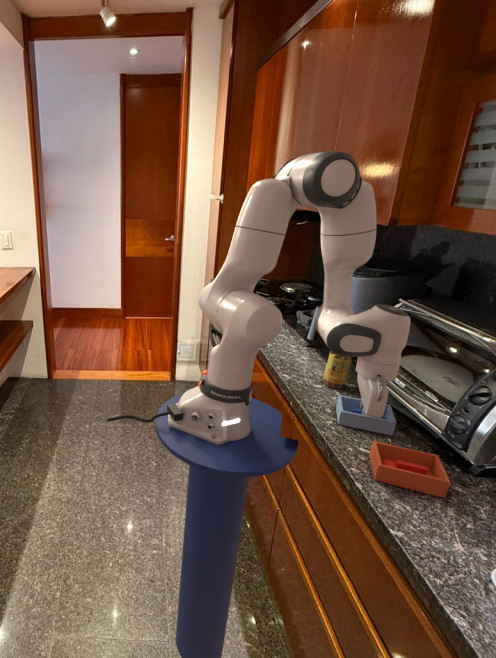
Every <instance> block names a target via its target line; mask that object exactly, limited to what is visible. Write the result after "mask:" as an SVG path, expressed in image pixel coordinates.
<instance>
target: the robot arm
mask: <svg viewBox="0 0 496 658" xmlns="http://www.w3.org/2000/svg"><path fill="white" fill-rule="evenodd" d="M300 207H303V208H316V209H317V211H318V213H319V216H320V249H321V257H322V263H323V271H324V274H323V293H322V304H321V306H320V308H319V310H318V312H317V314H316V317H315V320H314V327H315V331H316V332H317V334H318V335H319V337H321V339H322V340H323V342H324V344H325V345H326V347H327V348H328V350H330V352H331V351H332V352H333V353H334V354H336V355H338V356H342V357H353V358H357V362H356V366H355V372H356V374H357V377H356V379H357V385H358V389H359V394H360V399H361V406H360V409H362V412H361V414H362V415H366V416H370V417H375V418H382V417H383V415H384V411H385V407H386V404H388V397H389V389H388V386H387V385H388V384H389V382H393V381H395V380H396V379H397V376H398V373H399V370H400V367H401V363H402V352H403V350H404V349H405V348H406V346H407V342H408V338H409V334H410V329H411V317H410V315H409V314H408V313H407V312H405V311H404V310H402V309H401V308H398V307H396V306H393V305H390V304H389V305H388V304H375V305H374V306H373V307H372V308H370V309H369V308H368V309H367V310H364V311H362V312H359V313H356V314H355V313H354V310H353V309H352V306H351V295H352V293H351V292H352V282H353V276H354V273H355V271H356V270H357V269H358V268H360V267H362V266H364V265H365V264H366V263H368V262H369V261H370V259H371V258H372V257H373V253H374V249H375V245H376V240H377V226H378V225H377V223H378V221H377V219H378V218H377V203H376V197H375V191H374V187H373V186H372V185H371V183H370V182H368V181H366V180H363V179H362V176H361V171H360V168H359V165H358V163H357V161H356V160H355V157H353V156H352V155H351V154H349V153H347V152H344V151H339V150H328V151H324V152H310V153H306V154H304V155H301V156H297V157H294V158H291V159H289V160H287V161H286V162H285V163H283V164H282V165H281V166H280V167H279V168H278V170H277V171H276V172H275V174H274V175H273V176H272V177H271V178H264V179H261V180H258V181H256V182H254V183H253V184H252V186H250V188H249V190H248V192H247V195H246V197H245V199H244V201H243V203H242V206H241V209H240V212H239V214H238V217H237V221H236V224H235V227H234V230H233V231H234V232H233V235H232V239H231V242H230V246H229V249H228V252H227V255H226V258H225V261H224V263H223V264H222V267H221V268H220V270H219V272H218V274H217V275H216V277H215V278H214V280H213V281H211V282H210V283H209V284H207V285H206V286H204V288H203V289H202V290H201V292H200V294H199V298H198V306H199V309H200V310H201V311H202V314H204V315H205V317H206V318H207V319H208V320H210V322H212V323H214V324H215V325H217V326H218V327H219V328H221V330H222V338H221V339H220V342H219V344H217V345H215V346H213V347H212V348H211V349H210V352H209V357H208V369H204V370H202V372H201V373H200V378H199V383H198V385H197V386H195V387H192V388H190V389H188V390H186V391H185V392H184V393H182V394H183V395H182V397H181V398H180V400H179V402H178V403H176V404H175V403H174V404H168V405H167V412H164V413H160V414H157V413H156V414H155V415H153V416H152V417H151V418H142V417H139V416H136V415H132V414H131V415H130V414H128V415H126V414H125V415H119V416H113V417H108V418H106V423H107V422H108V423H109V422H113V421H118V420H122V419H124V420H125V419H131V420H135V421H139V422H142V423H152V422H155V421H156V418H158V417H161V416H165V415H168V423H169V425H170V426H171V427H173V428H176V429H179V430H181V431H184V432H186V433H189V434H191V435H194V436H197V437H199V438H202V439H204V440H207V441H209V442H212V443H215V444H218V445H220V444H224V443H226V442H228V441H235V440H240V439H243V438H245V437H247V436H248V435H249V434H250V432H251V426H250V420H249V403H250V401H251V398H252V395H253V382H252V379H253V372H254V371H253V370H254V365H255V361H256V357H257V355H258V353H259V351H260V349H261V348H262V347H263V345H266V344H268V343H270V342H272V341H273V340H274V339H275V338H276V337H277V336H278V335H279V333H280V331H281V329H282V325H283V314H282V312H281V310H280V309H279V308H278V307H277V306H276V305H275V304H274V303H272V302H271V301H270V300H269V299H267V298H266V297H264V296H262V295H260V294H256V293H255V292H254V291H255V287H256V286H257V284H258V283H259V281H260V280H261V278H263V277H264V276H265V275H267V274H270V273H271V272H272V271H273V270H274V269H275V268H276V266H277V263H278V259H279V258H280V257H279V256H280V253H281V249H282V247H283V243H284V240H285V237H286V233H287V230H288V227H289V222H290V220H291V218H292V216H293V214H294V213H295V212H296V211H297V209H298V208H300Z"/></svg>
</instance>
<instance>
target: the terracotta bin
mask: <svg viewBox="0 0 496 658" xmlns="http://www.w3.org/2000/svg"><path fill="white" fill-rule="evenodd" d="M368 456H369V460H370V464H371V465H370V466H371V470H372V475H373V479H374V481H376V482H382V483H385V484H389V485H393V486H397V487H401V488H405V489H408V490H413V491H416V492H420V493H423V494H427V495H433V496H435V497H439V498H443V499H445V498H446V495H447V493H448V490H449V489H450V486H451V480H450V478H449V476H448V474H447V472H446V469H445V467H444V466H443V462H442V461H441V458H440V457H439V454H435V453H430V452H425V451H421V450H416V449H412V448H407V447H402V446H398V445H394V444H389V443H384V442H380V441H375V440H373V441H372V444H371V447H370V451H369V455H368ZM383 460H391V461H393V462H396V460H400V461H404V462H408V463H413V464H417V465H421V466H426V467H427V468H428V473H427V475H423V474H419V473H415V472H411V471H407V470H403V469H398V468H394V467H390V466H386V465H382V461H383Z"/></svg>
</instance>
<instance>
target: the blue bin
mask: <svg viewBox="0 0 496 658" xmlns="http://www.w3.org/2000/svg"><path fill="white" fill-rule="evenodd" d="M335 405H336V406H335V411H336V420H337V425H340V426H345V427H350V428H354V429H360V430H364V431H368V432H373V433H378V434H383V435H387V436H392V437H393V435H394V432H395V428H396V426H397V420H396V417H395V414H394V411H393V408H392V405H391V404H389V403H386V407H385V411H384V415H383V417H384V418H386V419H381V418H375V417H370V416H366V415H361V414H357V413H352V412H351V410H352V408H357V409H360V406H361V398H357V397H353V396H348V395H347V396H346V395H342V394H338V397H337V401H336V404H335Z"/></svg>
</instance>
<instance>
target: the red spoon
mask: <svg viewBox="0 0 496 658" xmlns="http://www.w3.org/2000/svg"><path fill="white" fill-rule="evenodd" d="M382 465H386V466H390V467H394V468H398V469H403V470H407V471H411V472H415V473H419V474H423V475H427V473H428V468H427V467H426V466H421V465H417V464H413V463H408V462H404V461H400V460H396V462H393V461H391V460H383V461H382Z"/></svg>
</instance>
